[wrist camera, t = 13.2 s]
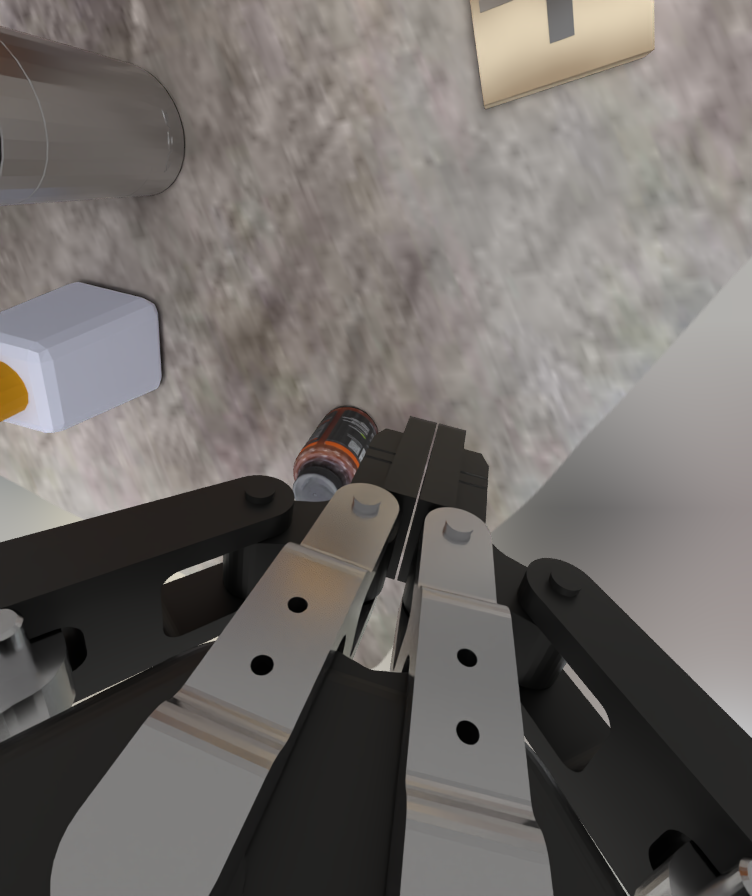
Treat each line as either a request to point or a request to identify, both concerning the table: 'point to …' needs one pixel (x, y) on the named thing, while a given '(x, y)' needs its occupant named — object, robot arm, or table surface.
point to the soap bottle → (76, 355)
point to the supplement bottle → (332, 454)
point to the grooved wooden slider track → (555, 42)
